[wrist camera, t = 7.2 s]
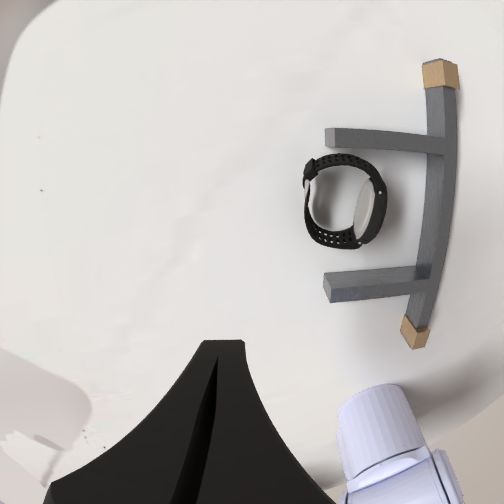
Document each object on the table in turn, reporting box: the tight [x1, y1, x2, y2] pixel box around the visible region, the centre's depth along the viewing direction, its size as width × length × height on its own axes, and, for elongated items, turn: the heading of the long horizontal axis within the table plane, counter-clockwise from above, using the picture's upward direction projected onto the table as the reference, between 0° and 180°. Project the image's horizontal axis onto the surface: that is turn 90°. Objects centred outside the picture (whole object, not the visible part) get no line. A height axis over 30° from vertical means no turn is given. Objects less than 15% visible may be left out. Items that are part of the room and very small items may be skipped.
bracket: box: [323, 58, 460, 350], centre depth 16 cm, size 20×8×2 cm, turn 3°
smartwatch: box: [303, 153, 387, 249], centre depth 15 cm, size 4×5×5 cm
